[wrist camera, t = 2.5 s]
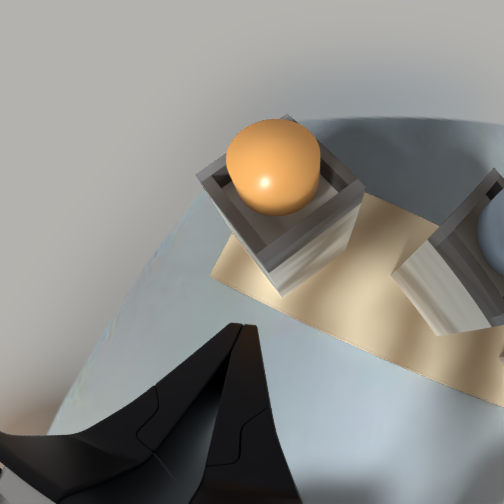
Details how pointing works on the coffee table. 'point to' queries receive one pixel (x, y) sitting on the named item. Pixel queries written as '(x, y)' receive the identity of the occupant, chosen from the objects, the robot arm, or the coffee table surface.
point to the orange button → (275, 166)
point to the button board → (374, 275)
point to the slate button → (493, 232)
